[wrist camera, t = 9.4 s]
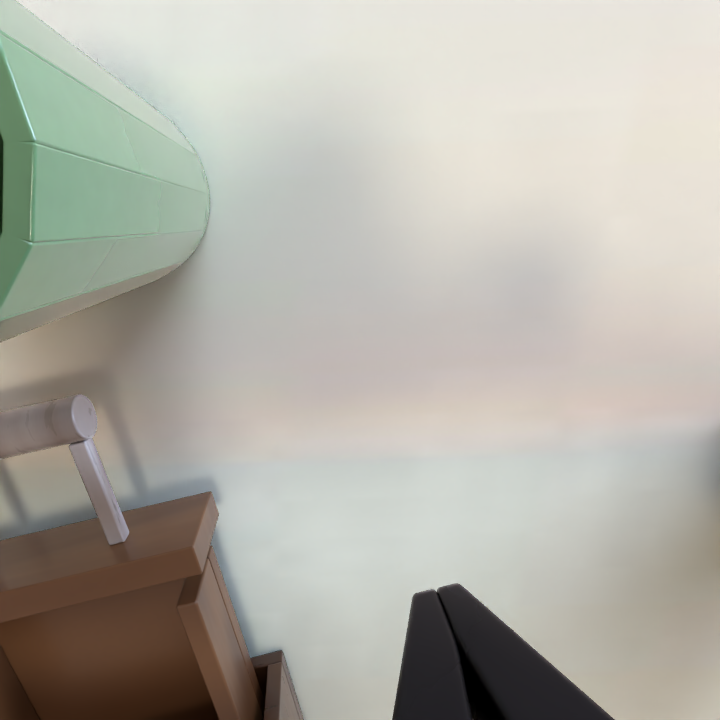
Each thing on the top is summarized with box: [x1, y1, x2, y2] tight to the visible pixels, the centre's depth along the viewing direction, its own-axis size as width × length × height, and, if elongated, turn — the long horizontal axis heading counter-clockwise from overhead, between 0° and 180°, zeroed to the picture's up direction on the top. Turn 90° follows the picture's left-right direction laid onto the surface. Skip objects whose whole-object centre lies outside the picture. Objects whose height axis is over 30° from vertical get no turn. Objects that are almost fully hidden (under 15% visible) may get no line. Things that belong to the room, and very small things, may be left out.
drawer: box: [0, 394, 265, 720], centre depth 20 cm, size 21×11×4 cm, turn 11°
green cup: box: [0, 0, 210, 342], centre depth 12 cm, size 6×6×12 cm
